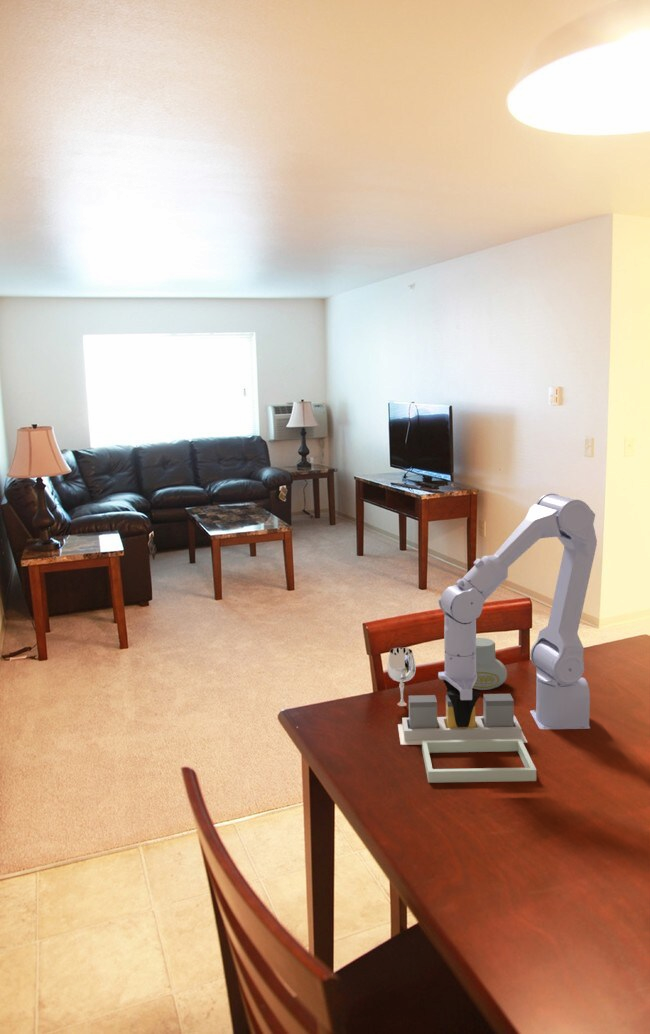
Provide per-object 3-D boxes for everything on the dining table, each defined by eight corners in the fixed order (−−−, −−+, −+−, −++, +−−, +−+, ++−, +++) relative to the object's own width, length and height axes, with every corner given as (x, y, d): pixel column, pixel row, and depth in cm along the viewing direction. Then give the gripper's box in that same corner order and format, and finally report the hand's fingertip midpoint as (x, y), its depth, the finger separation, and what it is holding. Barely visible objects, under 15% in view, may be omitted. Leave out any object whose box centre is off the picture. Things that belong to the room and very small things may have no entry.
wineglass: (415, 700, 149) (415, 646, 147) (416, 713, 144) (415, 656, 142) (388, 700, 150) (387, 646, 148) (388, 712, 144) (386, 656, 142)
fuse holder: (517, 725, 137) (517, 712, 137) (527, 745, 129) (527, 732, 129) (397, 727, 138) (397, 714, 138) (400, 747, 130) (400, 734, 130)
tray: (520, 751, 127) (521, 738, 127) (536, 784, 117) (536, 770, 116) (422, 753, 128) (421, 740, 127) (428, 785, 117) (428, 771, 117)
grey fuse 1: (435, 729, 135) (435, 695, 134) (437, 737, 132) (437, 702, 131) (409, 730, 135) (408, 695, 134) (410, 737, 132) (409, 702, 131)
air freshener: (456, 692, 153) (456, 648, 151) (455, 677, 161) (454, 635, 159) (508, 693, 151) (509, 649, 149) (504, 678, 159) (505, 635, 157)
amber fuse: (472, 729, 135) (472, 694, 134) (475, 736, 132) (475, 701, 131) (446, 729, 135) (445, 694, 134) (448, 737, 132) (447, 701, 131)
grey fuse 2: (509, 728, 135) (510, 693, 133) (513, 736, 132) (513, 700, 130) (483, 728, 135) (483, 694, 134) (486, 736, 132) (486, 701, 131)
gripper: (433, 637, 138) (434, 703, 140) (443, 666, 124) (443, 739, 126) (470, 637, 138) (470, 702, 140) (484, 665, 123) (484, 738, 126)
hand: (460, 720), depth 133 cm, fingers open, 4 cm apart
